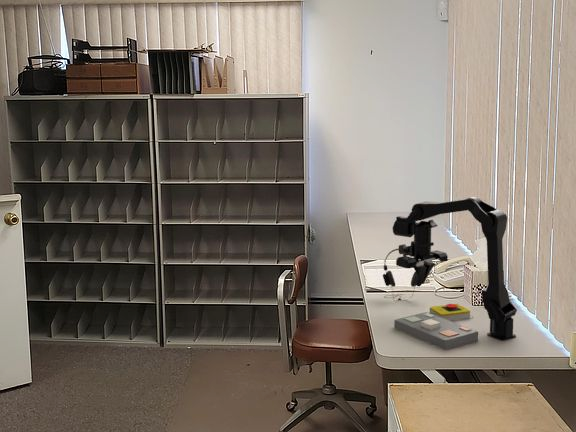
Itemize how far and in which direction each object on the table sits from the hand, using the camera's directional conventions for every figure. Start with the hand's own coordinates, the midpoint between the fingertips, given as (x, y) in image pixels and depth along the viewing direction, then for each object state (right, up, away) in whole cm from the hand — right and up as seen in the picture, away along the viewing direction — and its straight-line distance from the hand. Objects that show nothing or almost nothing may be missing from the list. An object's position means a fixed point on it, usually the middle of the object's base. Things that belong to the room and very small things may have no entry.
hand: (421, 283), depth 227 cm
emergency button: (+10, -12, +3) cm, 16 cm away
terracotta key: (+4, -15, -23) cm, 27 cm away
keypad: (+1, -15, -15) cm, 21 cm away
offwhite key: (0, -12, -16) cm, 20 cm away
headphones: (-3, -8, +24) cm, 25 cm away
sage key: (-5, -13, -9) cm, 16 cm away
